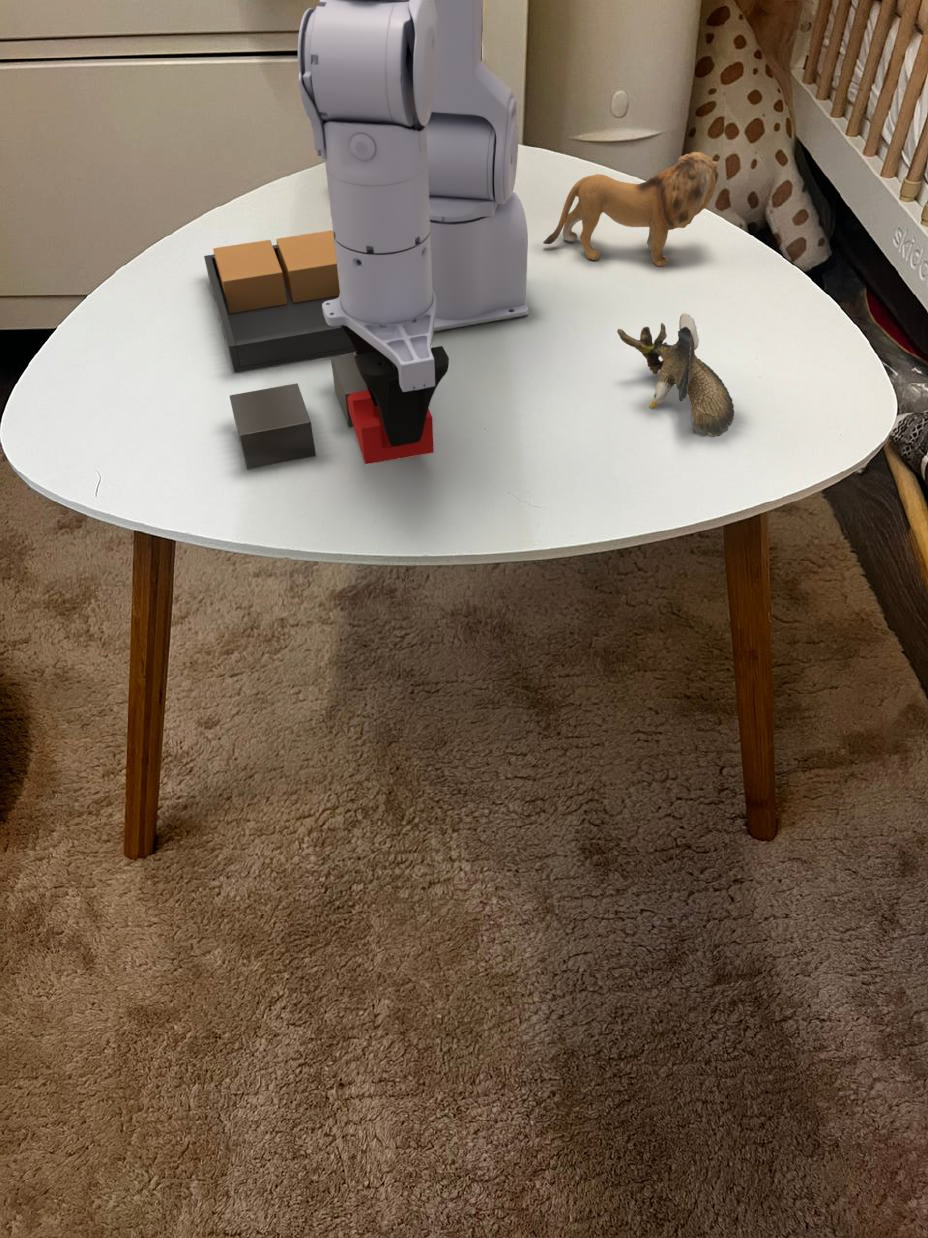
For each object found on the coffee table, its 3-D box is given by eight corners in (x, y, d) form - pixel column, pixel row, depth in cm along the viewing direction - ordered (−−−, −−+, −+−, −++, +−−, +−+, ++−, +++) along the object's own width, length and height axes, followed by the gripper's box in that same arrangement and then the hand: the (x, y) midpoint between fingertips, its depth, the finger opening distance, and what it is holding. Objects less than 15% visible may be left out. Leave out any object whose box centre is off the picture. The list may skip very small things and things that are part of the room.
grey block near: (397, 379, 78) (395, 346, 76) (414, 415, 75) (412, 381, 73) (334, 391, 77) (330, 357, 75) (349, 428, 74) (345, 394, 72)
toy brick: (275, 271, 89) (270, 239, 87) (287, 304, 85) (282, 271, 83) (219, 279, 88) (212, 247, 86) (229, 313, 84) (222, 281, 82)
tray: (343, 259, 91) (340, 234, 90) (383, 346, 81) (381, 320, 80) (209, 280, 89) (203, 255, 87) (234, 372, 79) (228, 346, 77)
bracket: (433, 452, 69) (432, 416, 67) (365, 464, 68) (361, 428, 66) (413, 399, 73) (411, 364, 71) (348, 410, 72) (344, 374, 70)
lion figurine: (701, 241, 93) (718, 141, 86) (705, 269, 90) (724, 168, 83) (543, 236, 94) (548, 137, 87) (541, 263, 90) (547, 163, 84)
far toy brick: (335, 261, 90) (332, 229, 88) (350, 294, 86) (347, 261, 84) (280, 270, 89) (275, 238, 87) (293, 303, 85) (288, 270, 83)
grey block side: (302, 416, 75) (297, 382, 73) (316, 456, 72) (310, 421, 70) (236, 428, 74) (229, 394, 72) (246, 469, 71) (239, 435, 69)
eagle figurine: (592, 379, 76) (665, 422, 69) (635, 289, 74) (714, 324, 67) (659, 405, 81) (733, 447, 74) (701, 320, 78) (782, 357, 72)
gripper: (292, 188, 63) (317, 373, 73) (342, 303, 53) (363, 497, 63) (400, 172, 64) (411, 356, 74) (468, 282, 55) (469, 475, 65)
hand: (395, 420), depth 69 cm, fingers closed on bracket, 4 cm apart
